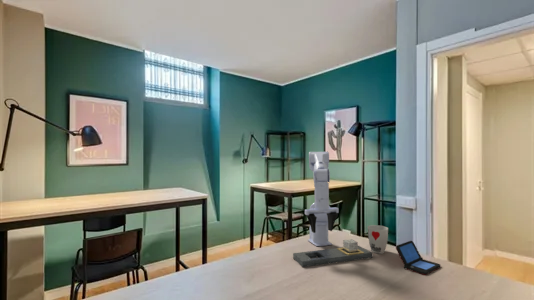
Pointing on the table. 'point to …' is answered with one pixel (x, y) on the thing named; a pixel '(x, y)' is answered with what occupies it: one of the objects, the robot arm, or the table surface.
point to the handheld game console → (415, 259)
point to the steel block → (350, 246)
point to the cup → (377, 238)
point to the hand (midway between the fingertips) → (322, 231)
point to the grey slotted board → (329, 256)
